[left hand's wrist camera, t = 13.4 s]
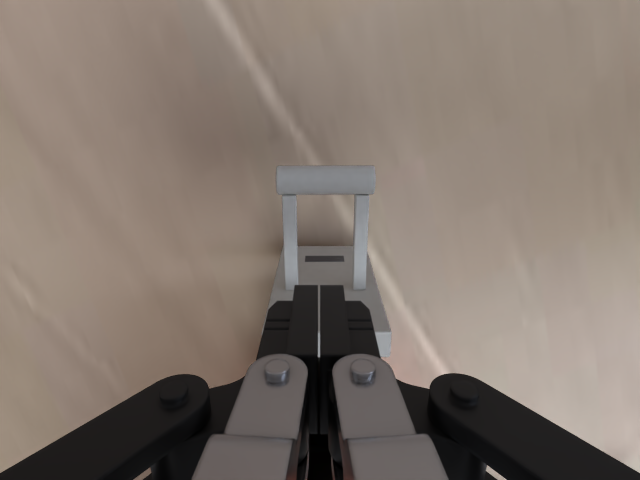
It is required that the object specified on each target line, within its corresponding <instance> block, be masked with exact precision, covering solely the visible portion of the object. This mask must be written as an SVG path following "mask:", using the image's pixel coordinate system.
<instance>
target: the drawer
mask: <svg viewBox="0 0 640 480" xmlns="http://www.w3.org/2000/svg"><path fill="white" fill-rule="evenodd" d="M375 182H376V175H375V167H374V166H373V165H357V166H277V168H276V190H277V194H279V195H282V214H283V240H284V246H283V248H282V252H281V256H280V260H279V264H278V268H277V272H276V276H275V280H274V284H273V288H272V292H271V296H270V301H269V305H268V309H269V308H270V307H271V306H272V305H273V304H274V303H275V302H276V301H293V293H294V286H295V285H318V416H317V434H309V467H308V476H307V480H333V476H332V467H331V454H330V452H329V444H328V434H320V285H343V286H344V295H345V301H361V302H362V303H363V304H365V305H366V306H367V307H368V308H369V309H370V314H371V318H372V322H373V327H374V331H375V335H376V340H377V344H378V348H379V353H380V357H389V356H390V349H391V335H392V332H391V329H390V325H389V322H388V319H387V316H386V312H385V309H384V306H383V302H382V299H381V296H380V292H379V289H378V286H377V282H376V279H375V276H374V272H373V269H372V266H371V262H370V259H369V256H368V253H367V240H368V215H369V195H368V194H374V191H375ZM311 194H354V231H353V246H298V243H297V202H296V195H311ZM268 309H267V313H268ZM267 313H266V317H267ZM266 317H265V321H264V325H265V322H266ZM264 325H263V329H262V334H263V330H264Z"/></svg>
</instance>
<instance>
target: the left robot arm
mask: <svg viewBox="0 0 640 480" xmlns="http://www.w3.org/2000/svg"><path fill="white" fill-rule="evenodd" d="M317 416H318V285H295V286H294V293H293V301H276V302H275V303H274V304H273V305H272V306H271V307H270V308H269V309H268V313H267V317H266V322H265V325H264V330H263V334H262V338H261V342H260V346H259V350H258V354H257V359H256V361H255V362H254V363H252V364H251V366H250V367H249V368H248V370H247V373H246V375H245V376H244V377H243V378H241V379H240V380H238V381H236V382H233V383H230V384H227V385H223V386H219V387H214V388H210V389H209V387H208V384H207V383H206V381H205V380H203V379H202V378H200V377H198V376H195V375H190V374H181V375H174V376H170V377H167V378H164V379H162V380H160V381H158V382H156V383H154V384H153V385H151V386H149V387H147V388H146V389H144V390H142V391H141V392H139V393H137V394H135V395H134V396H132V397H130V398H129V399H127V400H125V401H123V402H122V403H120V404H118V405H117V406H115V407H113V408H111V409H110V410H108V411H106V412H105V413H103V414H101V415H99V416H98V417H96V418H94V419H93V420H91V421H89V422H87V423H86V424H84V425H82V426H80V427H79V428H77V429H75V430H74V431H72V432H70V433H68V434H67V435H65V436H63V437H62V438H60V439H58V440H56V441H55V442H53V443H51V444H50V445H48V446H46V447H44V448H43V449H41V450H39V451H38V452H36V453H34V454H32V455H31V456H29V457H27V458H26V459H24V460H22V461H20V462H19V463H17V464H15V465H14V466H12V467H10V468H8V469H7V470H5V471H3V472H2V473H0V480H133V479H135V478H136V477H137V476H139V475H140V474H141V473H143V472H144V471H145V470H147V469H148V468H149V467H151V472H152V473H151V474H150V475H148V476H147V477H146V478H144V479H143V480H307V476H308V467H309V434H317ZM320 434H328V444H329V452H330V454H331V467H332V476H333V480H497V479H496V478H494V477H493V476H492V475H490V474H489V473H488V472H486V467H487V465H488V466H489V467H491V468H492V469H493V470H495V471H496V472H497V473H499V474H500V475H501V476H503V477H504V478H505V479H507V480H640V473H638V472H637V471H635V470H633V469H632V468H630V467H628V466H626V465H625V464H623V463H621V462H620V461H618V460H616V459H614V458H613V457H611V456H609V455H608V454H606V453H604V452H602V451H601V450H599V449H597V448H596V447H594V446H592V445H590V444H589V443H587V442H585V441H584V440H582V439H580V438H578V437H577V436H575V435H573V434H572V433H570V432H568V431H566V430H565V429H563V428H561V427H559V426H558V425H556V424H554V423H553V422H551V421H549V420H547V419H546V418H544V417H542V416H541V415H539V414H537V413H535V412H534V411H532V410H530V409H529V408H527V407H525V406H523V405H522V404H520V403H518V402H517V401H515V400H513V399H511V398H510V397H508V396H506V395H505V394H503V393H501V392H499V391H498V390H496V389H494V388H493V387H491V386H489V385H487V384H486V383H484V382H482V381H480V380H478V379H476V378H474V377H471V376H468V375H464V374H456V373H450V374H444V375H441V376H438V377H437V378H435V379H434V380H433V381H432V383H431V385H430V389H426V388H422V387H418V386H413V385H410V384H406V383H404V382H401V381H399V380H397V379H396V378H395V375H394V373H393V370H392V368H391V367H390V366H389V364H388V363H386V362H385V361H384V360H382V359H381V357H380V353H379V348H378V344H377V340H376V335H375V331H374V327H373V322H372V318H371V314H370V309H369V308H368V307H367V306H366V305H365V304H363V303H362V302H361V301H345V295H344V286H343V285H320Z"/></svg>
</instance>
